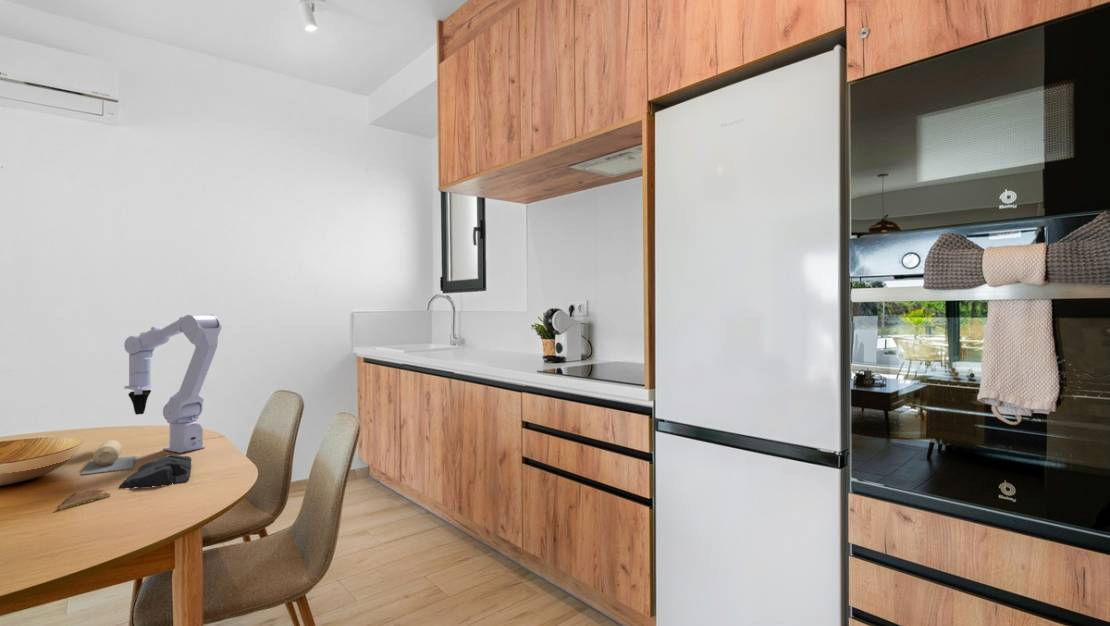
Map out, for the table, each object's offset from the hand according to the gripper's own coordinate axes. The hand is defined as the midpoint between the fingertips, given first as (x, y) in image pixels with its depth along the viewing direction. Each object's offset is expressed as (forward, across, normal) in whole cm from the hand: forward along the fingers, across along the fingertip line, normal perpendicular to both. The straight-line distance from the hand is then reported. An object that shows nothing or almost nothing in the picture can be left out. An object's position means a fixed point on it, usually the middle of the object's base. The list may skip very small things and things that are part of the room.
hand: (139, 413), depth 182 cm
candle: (+7, +16, -6) cm, 19 cm away
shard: (+11, +57, -6) cm, 58 cm away
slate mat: (+10, +25, -5) cm, 27 cm away
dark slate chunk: (+11, +43, +7) cm, 45 cm away
